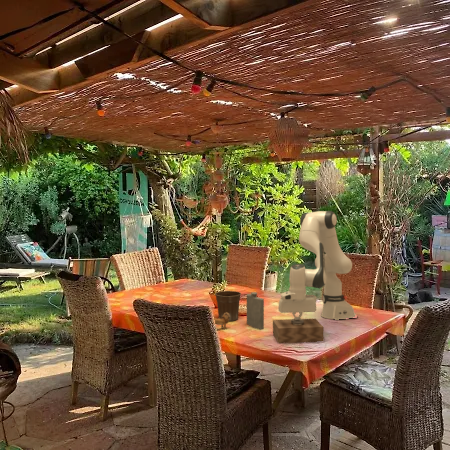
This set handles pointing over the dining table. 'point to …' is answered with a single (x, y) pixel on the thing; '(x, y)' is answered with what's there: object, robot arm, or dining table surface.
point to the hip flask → (255, 311)
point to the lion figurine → (223, 320)
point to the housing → (298, 331)
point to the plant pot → (228, 303)
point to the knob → (297, 322)
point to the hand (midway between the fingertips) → (297, 320)
